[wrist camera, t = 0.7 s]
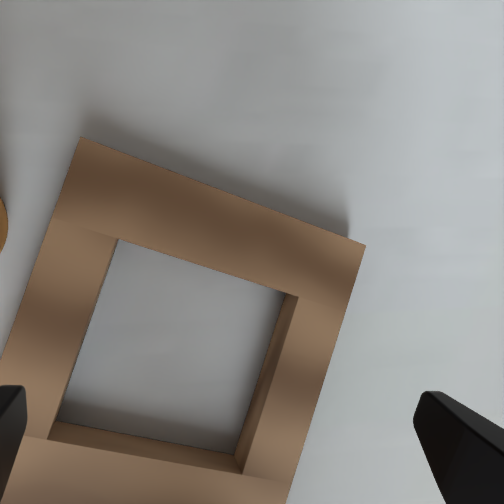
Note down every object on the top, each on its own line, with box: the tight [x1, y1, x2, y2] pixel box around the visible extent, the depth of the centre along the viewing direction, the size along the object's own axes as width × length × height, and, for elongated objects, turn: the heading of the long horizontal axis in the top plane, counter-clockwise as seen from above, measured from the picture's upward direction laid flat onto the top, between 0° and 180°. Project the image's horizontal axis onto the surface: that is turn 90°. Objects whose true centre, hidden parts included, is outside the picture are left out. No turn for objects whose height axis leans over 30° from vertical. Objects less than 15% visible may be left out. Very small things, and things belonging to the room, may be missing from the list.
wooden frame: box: [0, 137, 366, 504], centre depth 21 cm, size 22×16×2 cm
